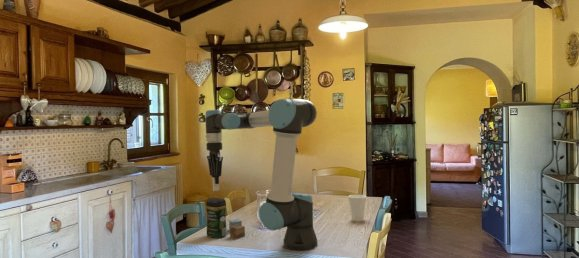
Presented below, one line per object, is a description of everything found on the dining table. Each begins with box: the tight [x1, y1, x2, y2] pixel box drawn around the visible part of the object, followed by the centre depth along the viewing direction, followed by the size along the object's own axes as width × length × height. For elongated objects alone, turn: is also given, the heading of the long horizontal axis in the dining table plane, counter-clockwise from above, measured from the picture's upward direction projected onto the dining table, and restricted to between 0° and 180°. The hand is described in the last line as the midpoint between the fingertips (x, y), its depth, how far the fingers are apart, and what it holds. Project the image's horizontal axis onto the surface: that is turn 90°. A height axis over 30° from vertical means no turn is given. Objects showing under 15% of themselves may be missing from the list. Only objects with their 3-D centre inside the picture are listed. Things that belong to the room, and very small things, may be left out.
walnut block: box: [229, 225, 246, 240], centre depth 192 cm, size 5×5×5 cm
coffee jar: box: [205, 197, 228, 239], centre depth 194 cm, size 10×8×19 cm
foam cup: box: [348, 194, 367, 222], centre depth 218 cm, size 10×9×13 cm
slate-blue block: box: [228, 218, 243, 231], centre depth 204 cm, size 5×5×5 cm
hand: (216, 190), depth 193 cm, fingers closed
